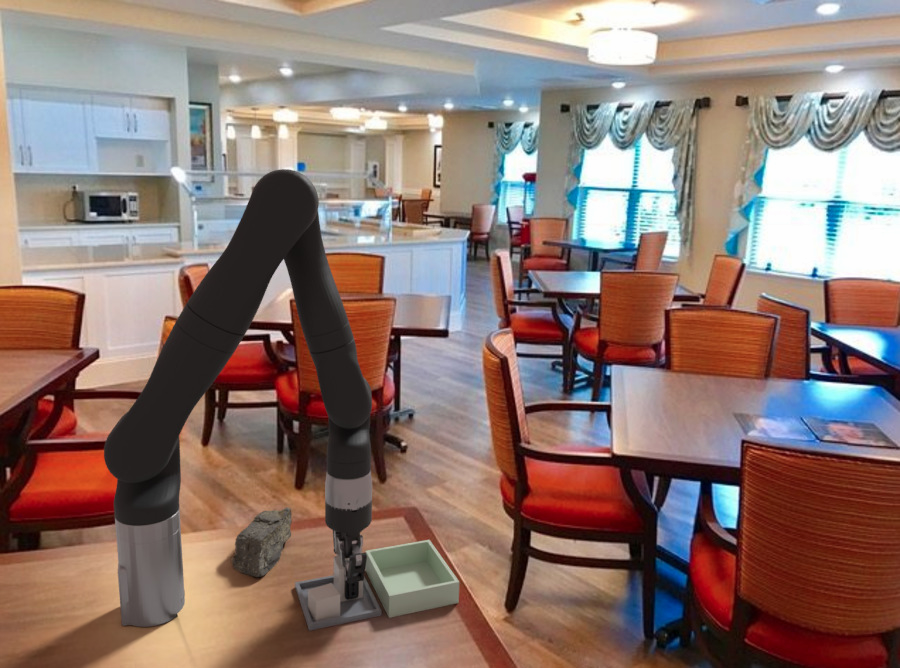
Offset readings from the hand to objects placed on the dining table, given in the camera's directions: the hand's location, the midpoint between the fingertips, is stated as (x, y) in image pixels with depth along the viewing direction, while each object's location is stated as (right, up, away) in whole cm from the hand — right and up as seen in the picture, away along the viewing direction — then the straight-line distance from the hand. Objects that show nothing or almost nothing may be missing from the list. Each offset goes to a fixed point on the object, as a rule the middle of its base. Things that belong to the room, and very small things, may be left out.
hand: (348, 589), depth 118 cm
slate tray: (-2, -2, -2) cm, 3 cm away
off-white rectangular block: (0, -1, 0) cm, 1 cm away
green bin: (+10, -1, +3) cm, 11 cm away
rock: (-17, +2, +11) cm, 21 cm away
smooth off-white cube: (-3, -2, -6) cm, 7 cm away
